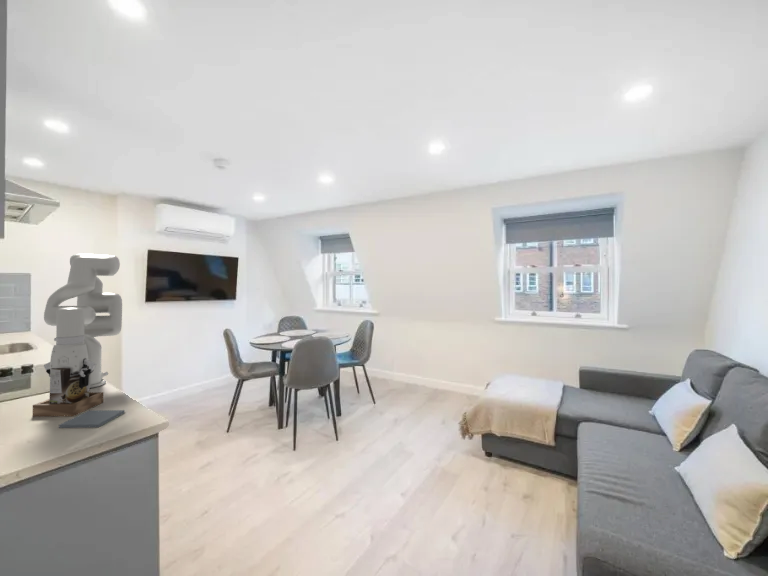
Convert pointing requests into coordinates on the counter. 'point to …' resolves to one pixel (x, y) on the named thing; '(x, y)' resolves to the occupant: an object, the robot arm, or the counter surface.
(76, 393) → the dessert mix box
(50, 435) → the counter surface
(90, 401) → the walnut dock
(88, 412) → the slate mat
